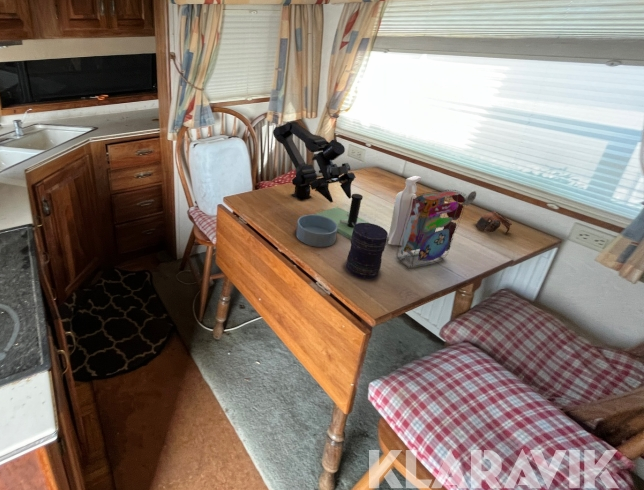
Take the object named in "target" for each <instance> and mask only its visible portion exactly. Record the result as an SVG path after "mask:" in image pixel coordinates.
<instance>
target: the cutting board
mask: <svg viewBox="0 0 644 490" xmlns="http://www.w3.org/2000/svg"><path fill="white" fill-rule="evenodd" d="M349 212H350V211H347V210H345V209H344V208H343V209H342V208H341V207H339V206H334V207H332V208H328V209H326V210H323V211H320V212H317V213H314V214H313V215H320V216H324V217H327V218H330V219H331V220H333V221H334V222H335V223H336V224H337V226H338V229H337V233H339V234H341V235H342V236H344V237H346V238H347V239H350V240H351V237H352V233H353V228H351V227H348V226H347V224H343V223H340V220H344V221H348V217H347V214H349ZM357 222H364V223H370V222H368V221H366V220H364V219H362V218H360V217H359V216H358V219H357Z"/></svg>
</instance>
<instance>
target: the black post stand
mask: <svg viewBox="0 0 644 490" xmlns="http://www.w3.org/2000/svg"><path fill="white" fill-rule="evenodd" d="M363 198H364V196H363V194H360V193H351V203H350V208H349V211H348V212H349V214H347V217H348V221H344V220H340V223H343V224H347V226H348V227H351V228H354V225H356V224H358V223H364V222H357V219H358V217H359V213H360V209H361V204H362V200H363Z"/></svg>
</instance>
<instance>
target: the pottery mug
mask: <svg viewBox="0 0 644 490" xmlns="http://www.w3.org/2000/svg"><path fill="white" fill-rule="evenodd" d="M501 225H503V226H504V227H505V228H506V230H505V232H504V234H508V233H509V232H510V230H511V226H512V225H513V223H512V222H511V221H510V220H509V219H507V218H506V217H505V216H503V215H501V214H500V213H499V212H498V211H495V210H492V211H491V212H488V213H485V214H483V215H482V216H481V217H480V218H479V219H478V220H477V222H476V223H475V226H476V228H478V230H479V231H481V232H484V230H485V231H486V232H487V233H494V232H495V231H496V230H497V229H499V228H500V227H501Z"/></svg>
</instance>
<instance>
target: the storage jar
mask: <svg viewBox="0 0 644 490" xmlns="http://www.w3.org/2000/svg"><path fill="white" fill-rule="evenodd" d="M388 237H389V232H388V231H387V229H385V228H384V227H382V226H380V225H378V224H375V223H371V222H369V223H358V224H356V225H354V228H353V233H352V237H351V239H350V248H349V250H348V254H347V257H346V265H345V268H346V271H347V272H348V273H349V274H350V275H352V276H354V277H355V278H357V279H359V280H365V281H366V280H367V281H369V280H370V281H371V280H375V279H377V278H378V276H379V272H380V270H381V266H382V256H383V253H384V251H385V249H386V245H387V240H388Z"/></svg>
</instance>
